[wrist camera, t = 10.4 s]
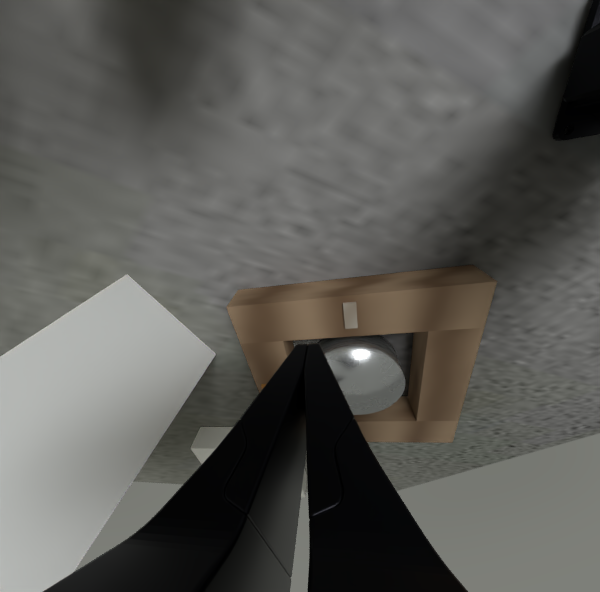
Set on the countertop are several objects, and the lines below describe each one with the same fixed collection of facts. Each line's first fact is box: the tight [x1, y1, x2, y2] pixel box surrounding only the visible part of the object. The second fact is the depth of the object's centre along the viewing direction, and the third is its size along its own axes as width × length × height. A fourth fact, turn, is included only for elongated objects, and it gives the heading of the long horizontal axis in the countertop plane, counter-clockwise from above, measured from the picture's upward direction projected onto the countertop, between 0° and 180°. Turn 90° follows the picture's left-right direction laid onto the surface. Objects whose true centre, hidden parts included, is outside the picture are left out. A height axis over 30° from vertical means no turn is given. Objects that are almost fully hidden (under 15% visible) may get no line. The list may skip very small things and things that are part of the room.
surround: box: [227, 265, 497, 443], centre depth 23 cm, size 20×20×3 cm
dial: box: [319, 335, 405, 415], centre depth 22 cm, size 14×9×7 cm, turn 105°
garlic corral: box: [190, 427, 307, 497], centre depth 35 cm, size 14×14×3 cm
